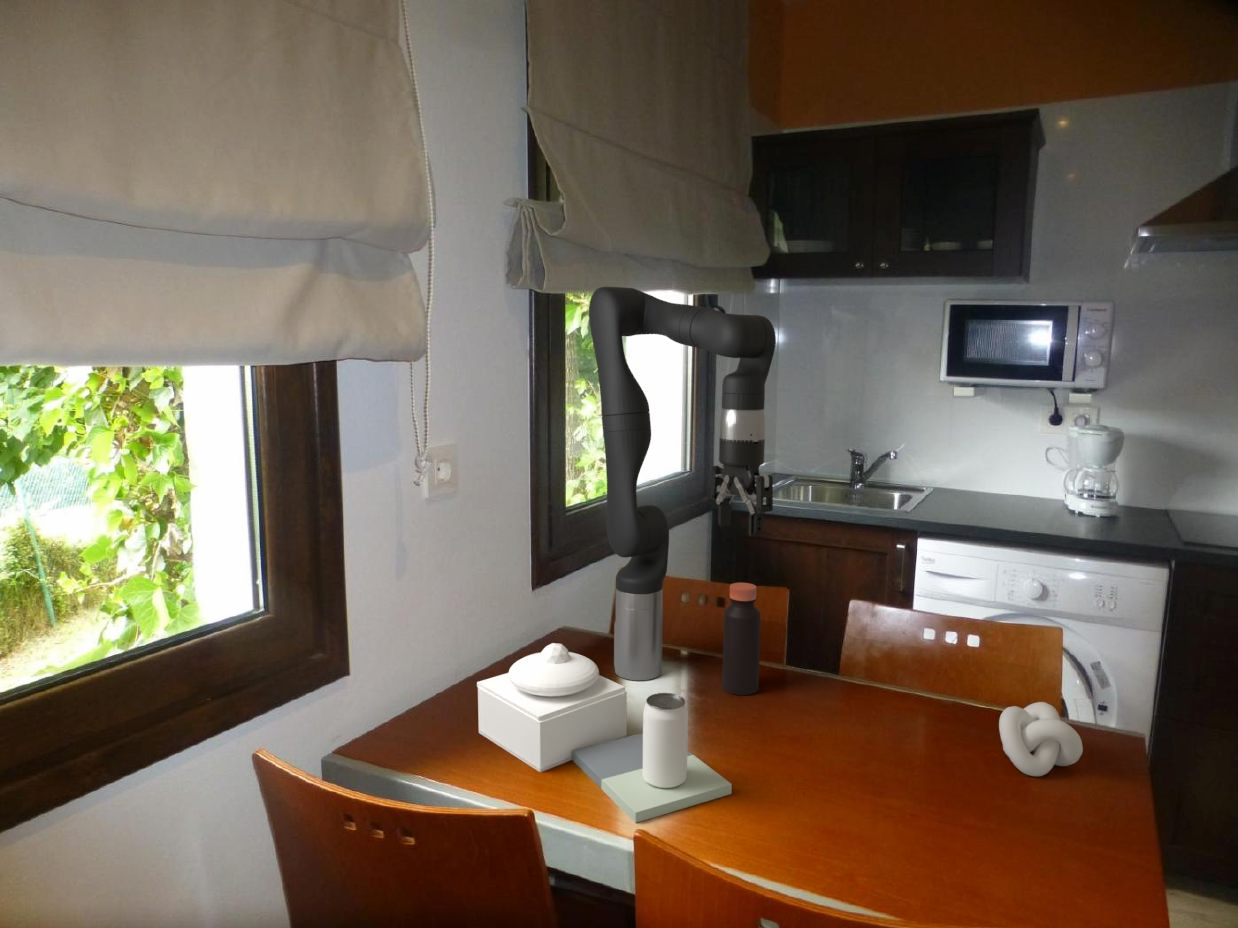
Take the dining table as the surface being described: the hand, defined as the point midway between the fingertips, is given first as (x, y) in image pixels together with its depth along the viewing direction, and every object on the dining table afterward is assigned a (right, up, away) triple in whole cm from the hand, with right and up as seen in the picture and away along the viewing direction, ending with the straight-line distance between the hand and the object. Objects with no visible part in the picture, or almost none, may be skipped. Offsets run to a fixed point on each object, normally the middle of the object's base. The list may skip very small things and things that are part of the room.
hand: (739, 530), depth 144 cm
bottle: (+3, -31, +16) cm, 35 cm away
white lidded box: (-32, -34, -3) cm, 47 cm away
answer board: (-16, -36, -16) cm, 42 cm away
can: (-14, -35, -20) cm, 42 cm away
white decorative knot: (+43, -36, -12) cm, 58 cm away
